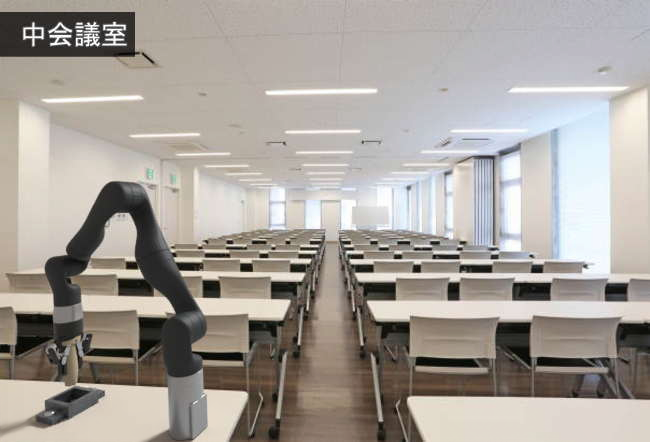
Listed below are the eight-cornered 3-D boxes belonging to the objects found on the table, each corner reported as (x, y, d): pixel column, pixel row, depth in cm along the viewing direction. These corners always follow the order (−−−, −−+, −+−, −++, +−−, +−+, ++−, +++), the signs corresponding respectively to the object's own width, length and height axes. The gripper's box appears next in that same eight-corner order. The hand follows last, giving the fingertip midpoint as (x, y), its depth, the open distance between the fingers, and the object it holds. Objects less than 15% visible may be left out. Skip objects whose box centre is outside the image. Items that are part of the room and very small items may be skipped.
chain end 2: (108, 396, 115) (108, 384, 115) (72, 417, 104) (72, 404, 104) (86, 391, 119) (85, 380, 119) (49, 411, 108) (48, 398, 107)
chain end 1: (95, 404, 111) (94, 392, 111) (56, 426, 100) (55, 413, 99) (72, 399, 114) (71, 387, 114) (32, 420, 103) (31, 407, 103)
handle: (86, 379, 112) (84, 334, 111) (69, 390, 105) (67, 342, 105) (72, 379, 112) (70, 333, 112) (55, 389, 106) (53, 341, 105)
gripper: (52, 326, 100) (55, 384, 101) (98, 312, 114) (100, 363, 114) (35, 324, 103) (37, 380, 103) (82, 310, 116) (84, 360, 117)
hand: (70, 371), depth 109 cm, fingers closed on handle, 4 cm apart
